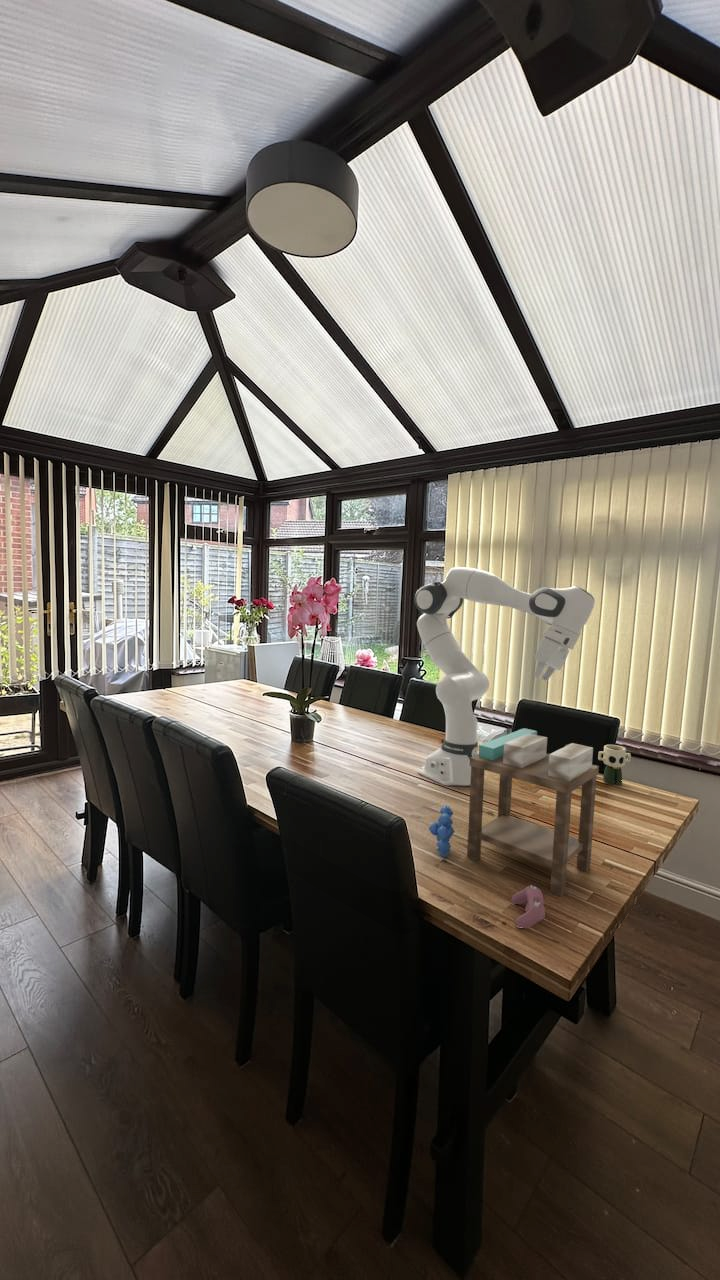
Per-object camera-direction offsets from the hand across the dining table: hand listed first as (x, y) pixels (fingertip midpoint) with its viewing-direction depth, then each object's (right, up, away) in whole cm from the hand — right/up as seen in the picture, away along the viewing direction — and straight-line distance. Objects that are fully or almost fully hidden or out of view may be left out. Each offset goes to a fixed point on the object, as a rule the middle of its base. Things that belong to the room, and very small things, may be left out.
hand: (540, 678), depth 163 cm
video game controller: (-21, -46, -52) cm, 73 cm away
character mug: (+35, -40, +27) cm, 59 cm away
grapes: (-35, -43, -26) cm, 61 cm away
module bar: (-16, -17, -22) cm, 32 cm away
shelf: (-14, -44, -30) cm, 55 cm away
